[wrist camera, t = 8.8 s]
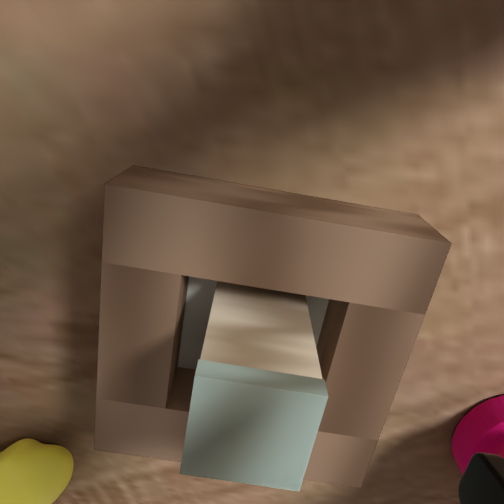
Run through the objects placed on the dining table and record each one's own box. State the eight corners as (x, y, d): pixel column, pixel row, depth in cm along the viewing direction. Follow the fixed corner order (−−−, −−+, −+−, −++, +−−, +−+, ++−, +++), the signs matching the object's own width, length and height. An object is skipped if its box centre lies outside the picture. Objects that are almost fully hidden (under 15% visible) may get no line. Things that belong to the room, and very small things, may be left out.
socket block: (418, 214, 19) (451, 243, 15) (346, 431, 23) (360, 487, 20) (132, 165, 18) (104, 184, 15) (118, 396, 23) (94, 449, 19)
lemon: (-49, 454, 25) (-101, 518, 21) (64, 409, 23) (28, 469, 20) (-3, 500, 26) (-45, 568, 22) (106, 460, 25) (80, 526, 21)
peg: (306, 290, 19) (328, 396, 13) (287, 364, 21) (299, 491, 14) (217, 276, 19) (194, 375, 13) (205, 350, 21) (179, 473, 14)
